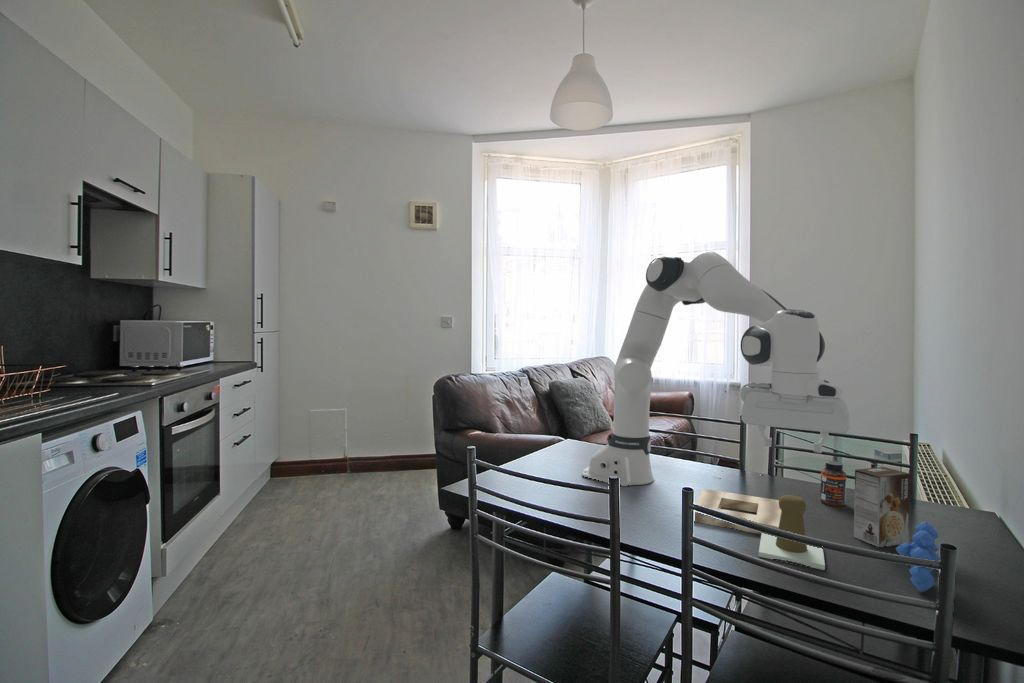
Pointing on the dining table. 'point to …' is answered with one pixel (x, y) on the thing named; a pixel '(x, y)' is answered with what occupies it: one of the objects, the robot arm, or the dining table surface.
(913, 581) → the grapes
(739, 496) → the socket plate
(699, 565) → the dining table surface
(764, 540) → the pad
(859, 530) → the cookie box
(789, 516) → the cork
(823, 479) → the supplement bottle
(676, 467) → the dining table surface
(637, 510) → the dining table surface
